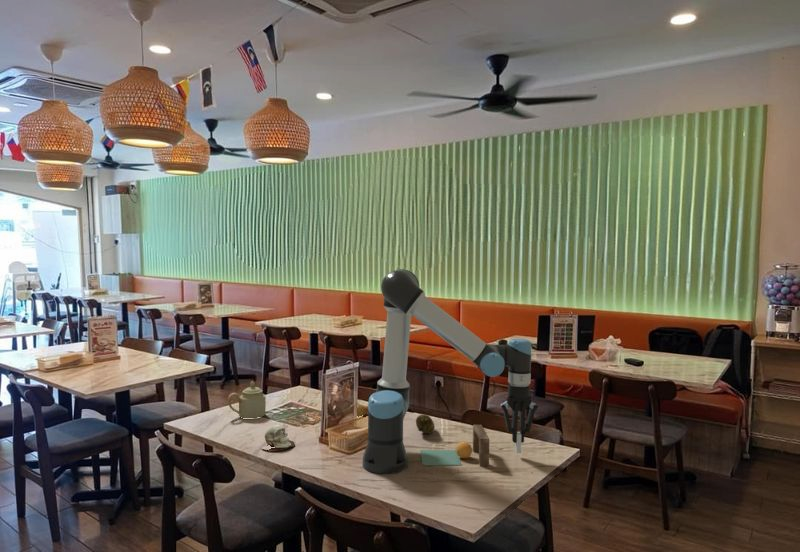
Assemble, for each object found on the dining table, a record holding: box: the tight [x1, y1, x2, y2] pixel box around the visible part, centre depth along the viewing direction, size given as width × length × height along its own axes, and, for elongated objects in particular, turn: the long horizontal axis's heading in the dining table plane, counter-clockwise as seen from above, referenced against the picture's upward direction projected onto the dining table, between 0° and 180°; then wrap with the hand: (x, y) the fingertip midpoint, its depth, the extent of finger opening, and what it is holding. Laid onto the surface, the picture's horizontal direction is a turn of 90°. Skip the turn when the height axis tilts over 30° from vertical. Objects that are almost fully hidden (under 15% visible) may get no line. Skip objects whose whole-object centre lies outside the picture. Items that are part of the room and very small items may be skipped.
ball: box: [455, 441, 473, 459], centre depth 181 cm, size 6×6×6 cm
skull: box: [264, 424, 296, 452], centre depth 190 cm, size 12×10×10 cm
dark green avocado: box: [415, 414, 436, 434], centre depth 206 cm, size 8×13×8 cm, turn 151°
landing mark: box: [419, 449, 463, 466], centre depth 181 cm, size 13×13×1 cm
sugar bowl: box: [227, 380, 267, 419], centre depth 223 cm, size 15×11×15 cm
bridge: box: [472, 424, 490, 467], centre depth 181 cm, size 3×14×9 cm, turn 2°
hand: (517, 451), depth 182 cm, fingers closed
